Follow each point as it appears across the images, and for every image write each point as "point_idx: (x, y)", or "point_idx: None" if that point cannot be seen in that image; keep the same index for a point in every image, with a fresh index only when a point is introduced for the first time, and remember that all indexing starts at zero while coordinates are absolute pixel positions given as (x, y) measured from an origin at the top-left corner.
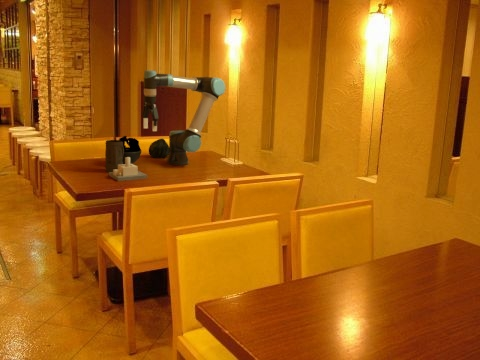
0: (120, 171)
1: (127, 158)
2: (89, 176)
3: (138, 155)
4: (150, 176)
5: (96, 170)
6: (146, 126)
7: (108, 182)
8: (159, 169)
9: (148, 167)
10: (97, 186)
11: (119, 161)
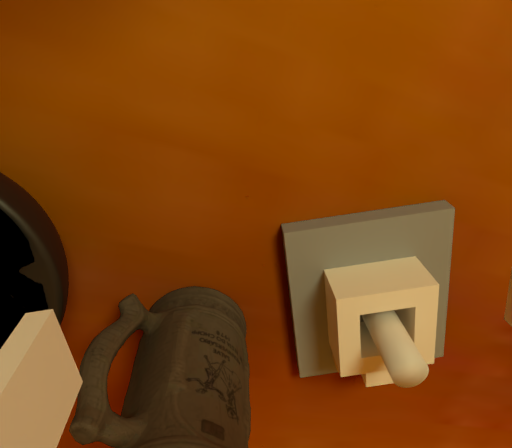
0: None
1: (424, 374)
2: (285, 433)
3: (15, 188)
4: (405, 166)
5: None
6: (48, 368)
7: (436, 382)
8: (203, 29)
9: (109, 96)
10: (481, 424)
11: (236, 354)
